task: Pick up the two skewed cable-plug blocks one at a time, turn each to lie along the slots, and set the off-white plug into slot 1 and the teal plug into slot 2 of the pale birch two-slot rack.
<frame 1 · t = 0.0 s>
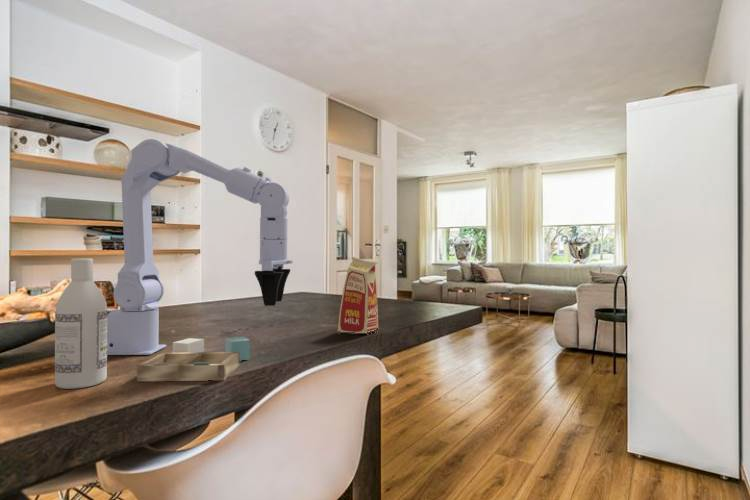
hand: (273, 303, 94), 10 cm above the table, fingers open, 7 cm apart
off-white plug: (190, 360, 85), on the table
teal plug: (236, 358, 87), on the table
slot rack: (191, 372, 77), on the table
bath foam: (81, 384, 70), on the table
milk carton: (360, 332, 117), on the table
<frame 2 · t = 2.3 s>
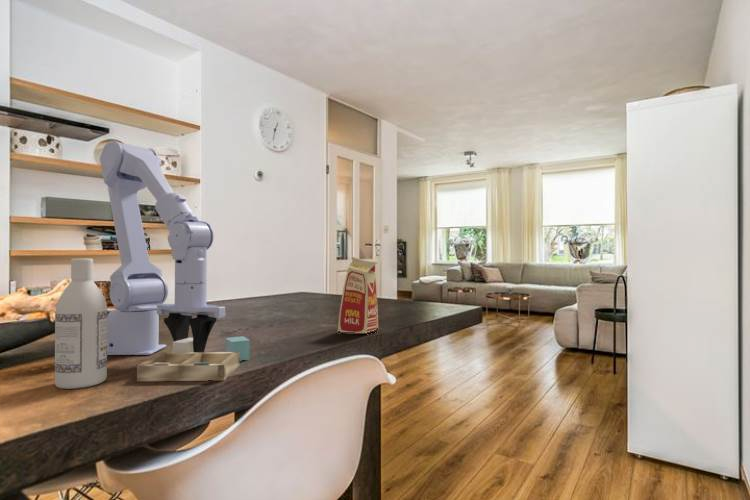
hand: (190, 353, 85), 1 cm above the table, fingers closed on off-white plug, 3 cm apart
off-white plug: (190, 360, 85), on the table, touching gripper
everything else where it was.
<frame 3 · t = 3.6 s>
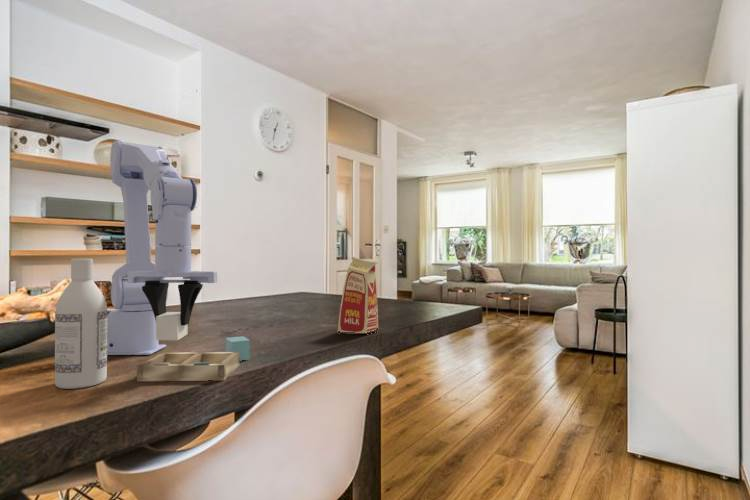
hand: (173, 324, 77), 8 cm above the table, fingers closed on off-white plug, 3 cm apart
off-white plug: (173, 336, 77), point 6 cm above the table, touching gripper
everything else where it was.
when the fingers open (3 cm above the table, at t = 4.9 s): off-white plug stays where it is, resting on slot rack.
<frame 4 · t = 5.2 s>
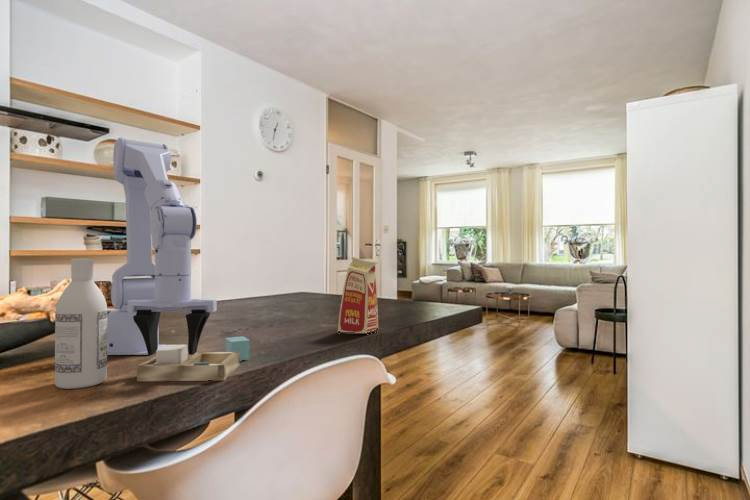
hand: (172, 353, 77), 3 cm above the table, fingers open, 6 cm apart
off-white plug: (173, 369, 77), resting on slot rack
everything else where it was.
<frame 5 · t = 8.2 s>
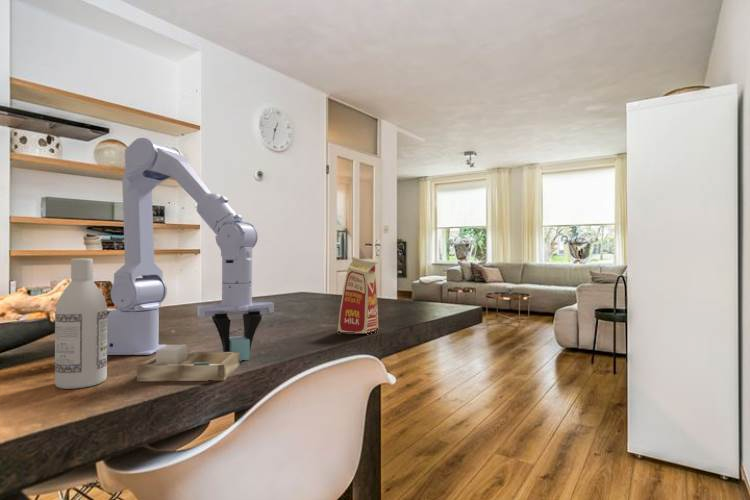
hand: (236, 351, 87), 1 cm above the table, fingers closed on teal plug, 3 cm apart
teal plug: (236, 358, 87), on the table, touching gripper
everything else where it was.
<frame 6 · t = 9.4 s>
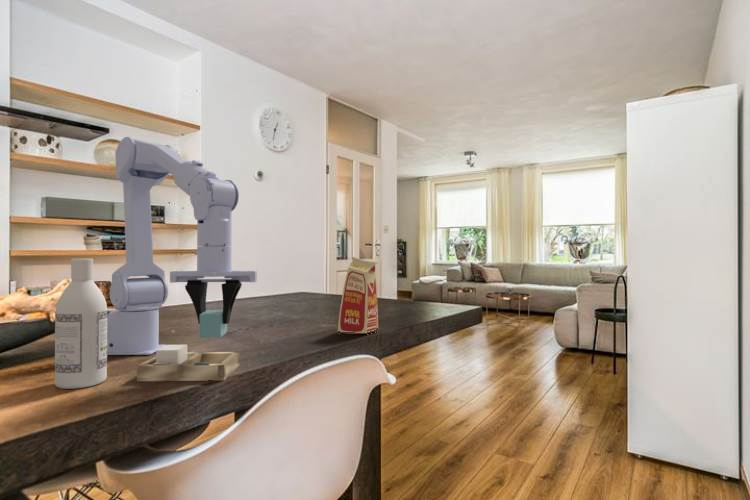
hand: (214, 323, 78), 8 cm above the table, fingers closed on teal plug, 3 cm apart
teal plug: (214, 334, 78), point 6 cm above the table, touching gripper
everything else where it was.
when the fingers open (3 cm above the table, at t = 10.8 s): teal plug stays where it is, resting on slot rack.
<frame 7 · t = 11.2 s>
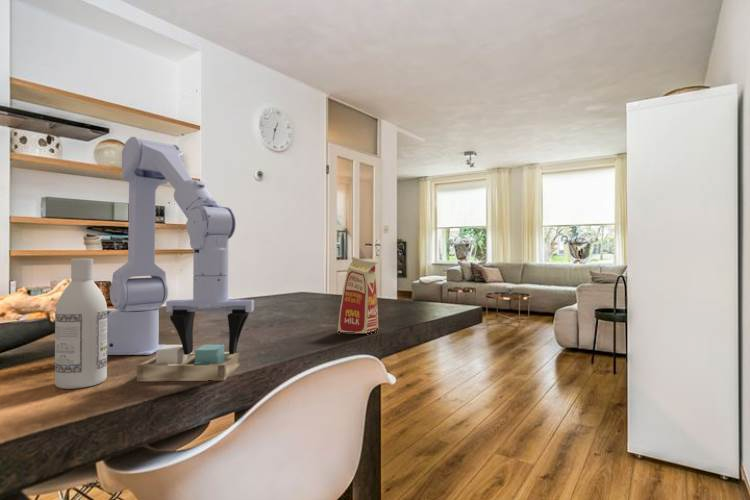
hand: (210, 353, 77), 3 cm above the table, fingers open, 7 cm apart
teal plug: (210, 369, 77), resting on slot rack
everything else where it was.
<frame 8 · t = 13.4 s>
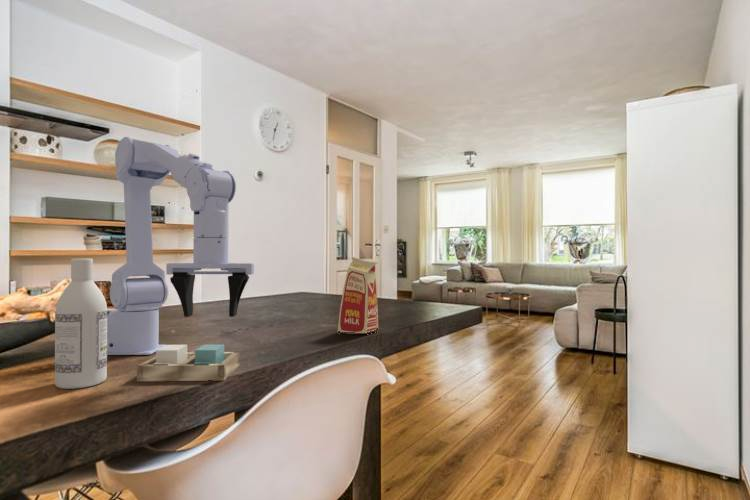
hand: (210, 316, 77), 10 cm above the table, fingers open, 7 cm apart
nothing on the table moved.
at the end: off-white plug 0.3 cm from the target spot on the slot rack, point 0.5 cm above the slot rack's base; teal plug 0.2 cm from the target spot on the slot rack, point 0.5 cm above the slot rack's base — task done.
